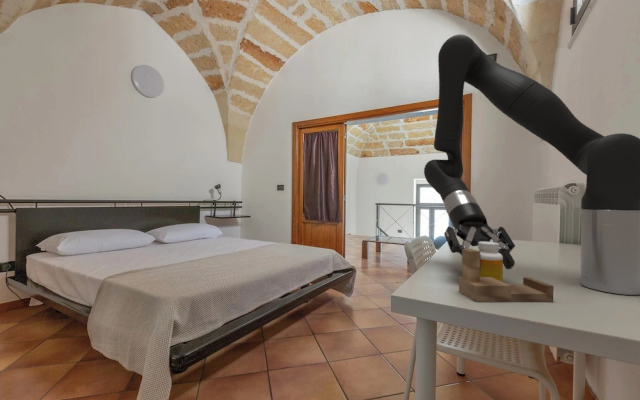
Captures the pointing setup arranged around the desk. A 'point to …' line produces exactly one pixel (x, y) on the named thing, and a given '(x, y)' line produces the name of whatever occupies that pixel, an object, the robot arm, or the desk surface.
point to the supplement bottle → (490, 260)
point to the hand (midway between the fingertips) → (492, 267)
